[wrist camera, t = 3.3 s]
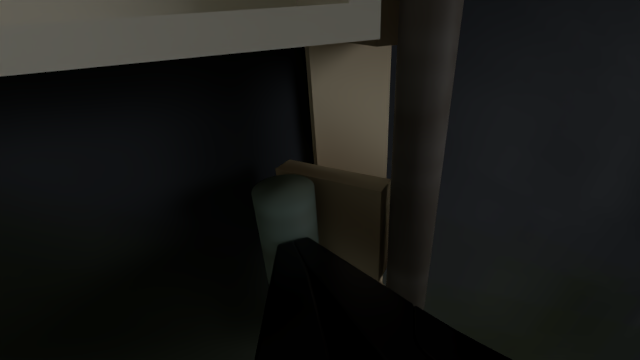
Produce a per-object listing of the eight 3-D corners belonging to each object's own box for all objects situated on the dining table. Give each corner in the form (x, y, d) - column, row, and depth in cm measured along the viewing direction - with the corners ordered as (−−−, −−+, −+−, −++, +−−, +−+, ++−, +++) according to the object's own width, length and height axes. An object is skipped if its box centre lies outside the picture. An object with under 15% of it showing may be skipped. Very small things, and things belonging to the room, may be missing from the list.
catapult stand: (547, 244, 18) (611, 286, 15) (326, 317, 15) (355, 388, 12) (737, -307, 9) (986, -458, 6) (265, -448, 5) (331, -936, 3)
